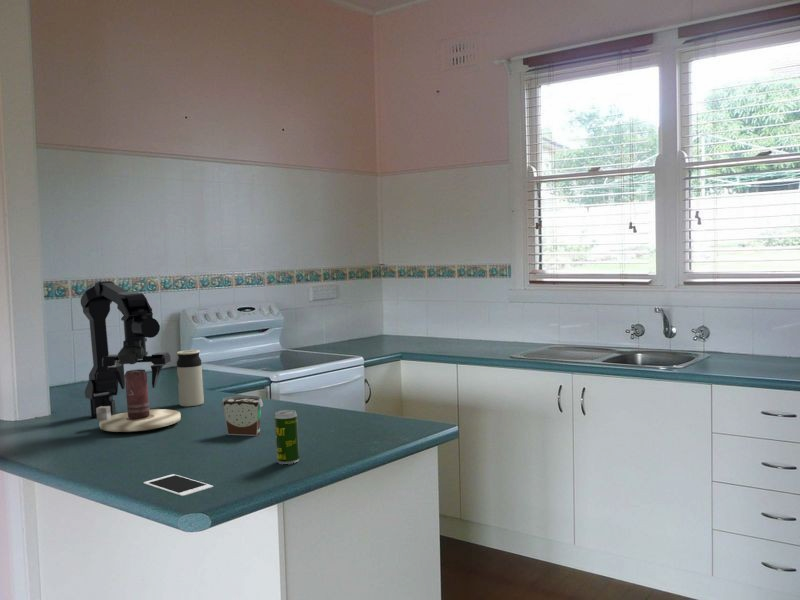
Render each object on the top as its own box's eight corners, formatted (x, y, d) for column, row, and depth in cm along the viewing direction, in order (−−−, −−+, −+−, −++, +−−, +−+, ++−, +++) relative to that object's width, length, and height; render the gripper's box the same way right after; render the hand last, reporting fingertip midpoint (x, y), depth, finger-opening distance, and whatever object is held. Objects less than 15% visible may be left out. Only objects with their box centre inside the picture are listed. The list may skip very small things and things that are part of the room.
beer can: (289, 457, 193) (286, 408, 192) (304, 460, 190) (301, 411, 189) (272, 462, 189) (269, 413, 188) (287, 466, 186) (284, 415, 185)
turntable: (82, 433, 225) (81, 415, 225) (114, 415, 248) (113, 399, 248) (166, 430, 224) (165, 412, 224) (190, 412, 247) (189, 396, 247)
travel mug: (207, 401, 270) (204, 349, 269) (199, 406, 263) (195, 352, 261) (184, 402, 271) (181, 350, 270) (175, 407, 263) (172, 353, 262)
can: (143, 419, 232) (140, 372, 231) (124, 419, 234) (120, 372, 233) (154, 414, 238) (151, 368, 237) (135, 414, 240) (131, 369, 239)
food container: (272, 430, 223) (270, 395, 222) (262, 436, 217) (260, 399, 216) (234, 429, 227) (232, 394, 226) (222, 434, 221) (220, 398, 220)
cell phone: (182, 498, 166) (182, 495, 166) (142, 485, 177) (142, 482, 177) (214, 488, 172) (213, 485, 172) (173, 476, 183) (173, 473, 183)
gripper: (92, 340, 227) (96, 394, 228) (156, 338, 226) (160, 392, 227) (107, 336, 238) (111, 387, 239) (169, 333, 237) (172, 385, 238)
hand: (138, 388), depth 235 cm, fingers open, 9 cm apart
